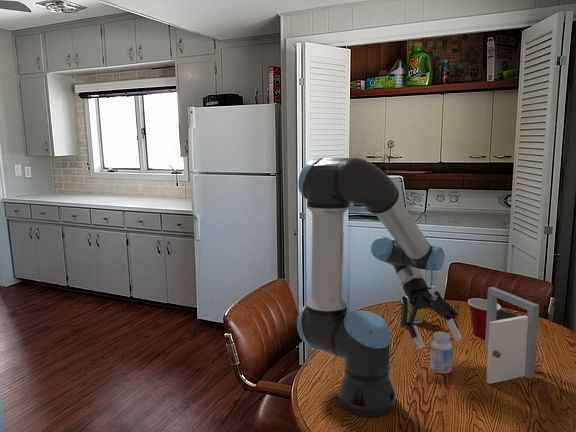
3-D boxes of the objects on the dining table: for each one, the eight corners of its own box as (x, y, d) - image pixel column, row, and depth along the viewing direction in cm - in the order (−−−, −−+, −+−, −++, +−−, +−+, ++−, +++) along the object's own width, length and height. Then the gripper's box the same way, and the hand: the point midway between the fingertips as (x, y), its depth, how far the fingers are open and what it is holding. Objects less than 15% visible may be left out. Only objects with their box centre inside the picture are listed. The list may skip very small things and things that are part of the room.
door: (521, 373, 130) (525, 315, 128) (528, 377, 128) (532, 318, 125) (486, 381, 127) (489, 321, 124) (492, 386, 124) (496, 325, 121)
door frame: (528, 378, 129) (533, 306, 125) (484, 352, 145) (487, 287, 142) (534, 377, 129) (539, 305, 126) (489, 351, 146) (493, 286, 142)
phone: (476, 318, 172) (499, 309, 180) (476, 320, 172) (499, 312, 180) (495, 324, 165) (518, 315, 173) (495, 327, 165) (518, 318, 173)
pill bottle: (448, 364, 138) (450, 330, 136) (453, 374, 132) (454, 339, 130) (428, 364, 139) (429, 329, 137) (432, 374, 133) (433, 338, 131)
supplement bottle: (401, 318, 175) (402, 287, 172) (416, 316, 176) (417, 285, 174) (411, 325, 168) (411, 292, 166) (426, 322, 170) (427, 290, 168)
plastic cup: (503, 342, 152) (505, 309, 150) (469, 340, 154) (471, 307, 152) (495, 329, 162) (496, 298, 160) (463, 328, 164) (465, 296, 163)
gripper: (438, 282, 155) (467, 341, 143) (375, 292, 147) (400, 354, 135) (449, 272, 149) (480, 332, 137) (384, 281, 141) (410, 345, 129)
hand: (440, 343), depth 136 cm, fingers open, 13 cm apart
